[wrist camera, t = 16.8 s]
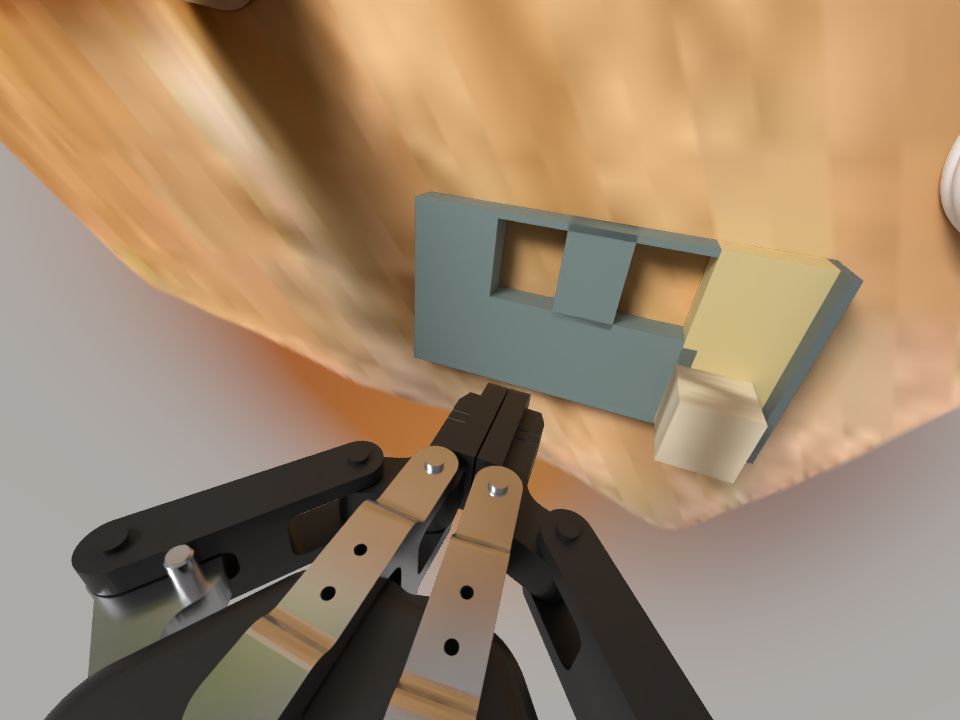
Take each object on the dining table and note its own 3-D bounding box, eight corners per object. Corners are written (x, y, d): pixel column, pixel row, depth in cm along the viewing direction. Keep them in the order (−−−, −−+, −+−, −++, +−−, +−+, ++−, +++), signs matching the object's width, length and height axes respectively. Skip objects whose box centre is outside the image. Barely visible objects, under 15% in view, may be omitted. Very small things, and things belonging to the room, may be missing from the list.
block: (654, 417, 33) (654, 459, 29) (676, 364, 30) (679, 402, 26) (722, 436, 32) (732, 483, 28) (751, 383, 29) (767, 426, 25)
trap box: (426, 345, 40) (406, 365, 37) (430, 191, 33) (405, 199, 30) (742, 429, 34) (752, 463, 30) (837, 260, 26) (863, 281, 23)
